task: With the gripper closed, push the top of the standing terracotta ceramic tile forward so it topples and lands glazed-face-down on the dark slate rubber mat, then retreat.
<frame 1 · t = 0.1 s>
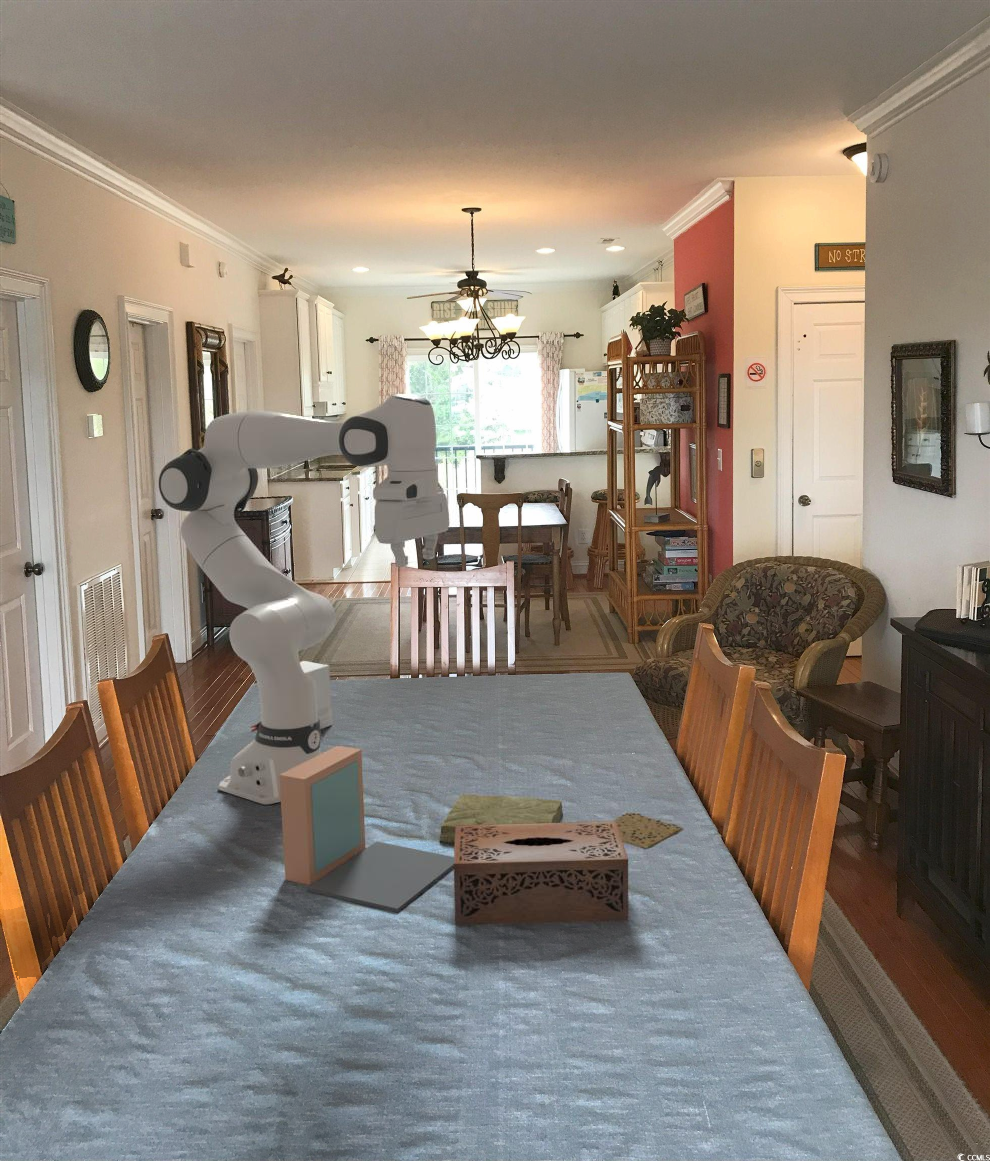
hand: (415, 562, 197), 48 cm above the table, fingers open, 8 cm apart
decorative tile: (501, 831, 198), on the table
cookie: (638, 833, 195), on the table
supplement box: (306, 728, 260), on the table
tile: (326, 863, 184), on the table
tissue box cover: (539, 903, 169), on the table
slate mat: (386, 876, 179), on the table
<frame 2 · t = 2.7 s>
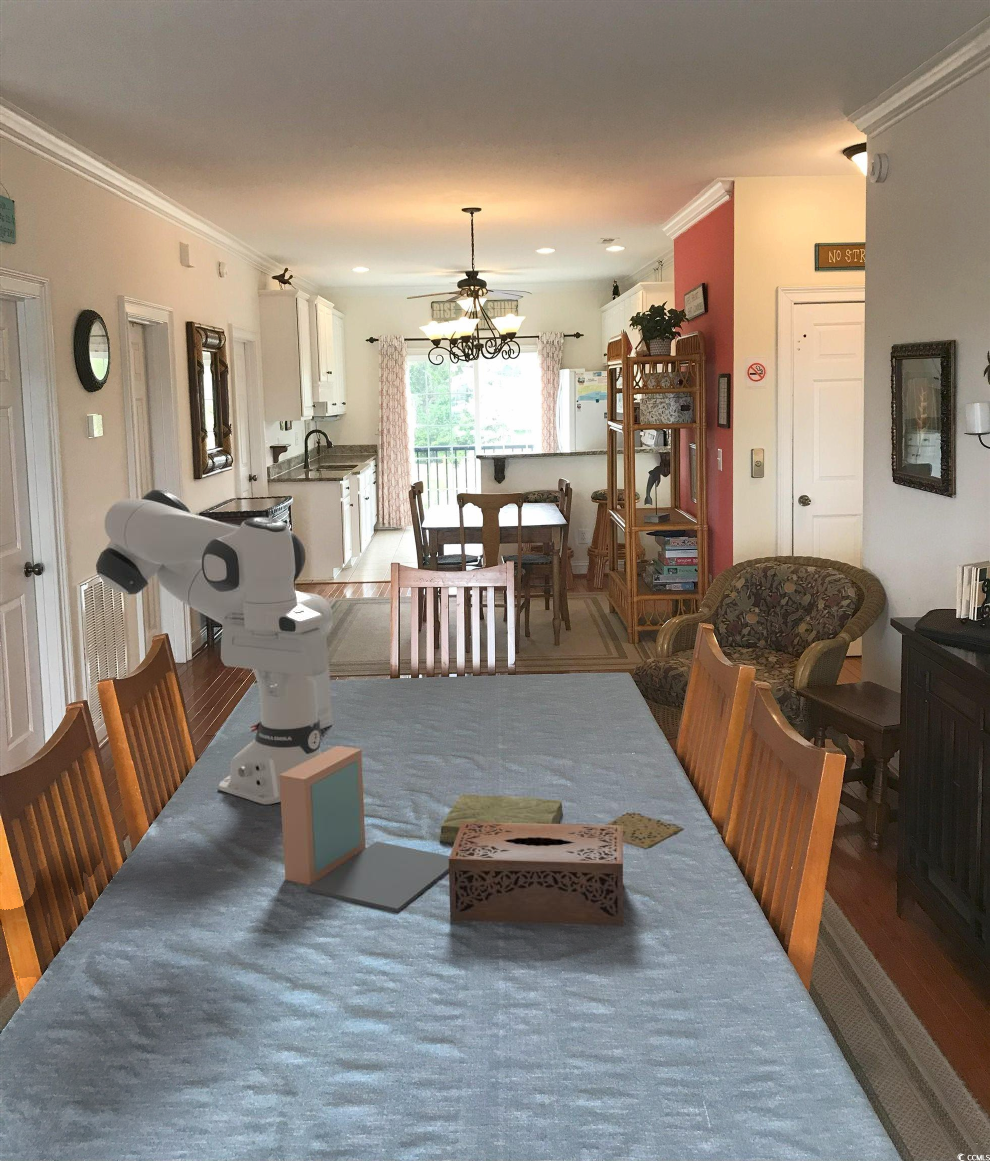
hand: (275, 696, 183), 28 cm above the table, fingers closed
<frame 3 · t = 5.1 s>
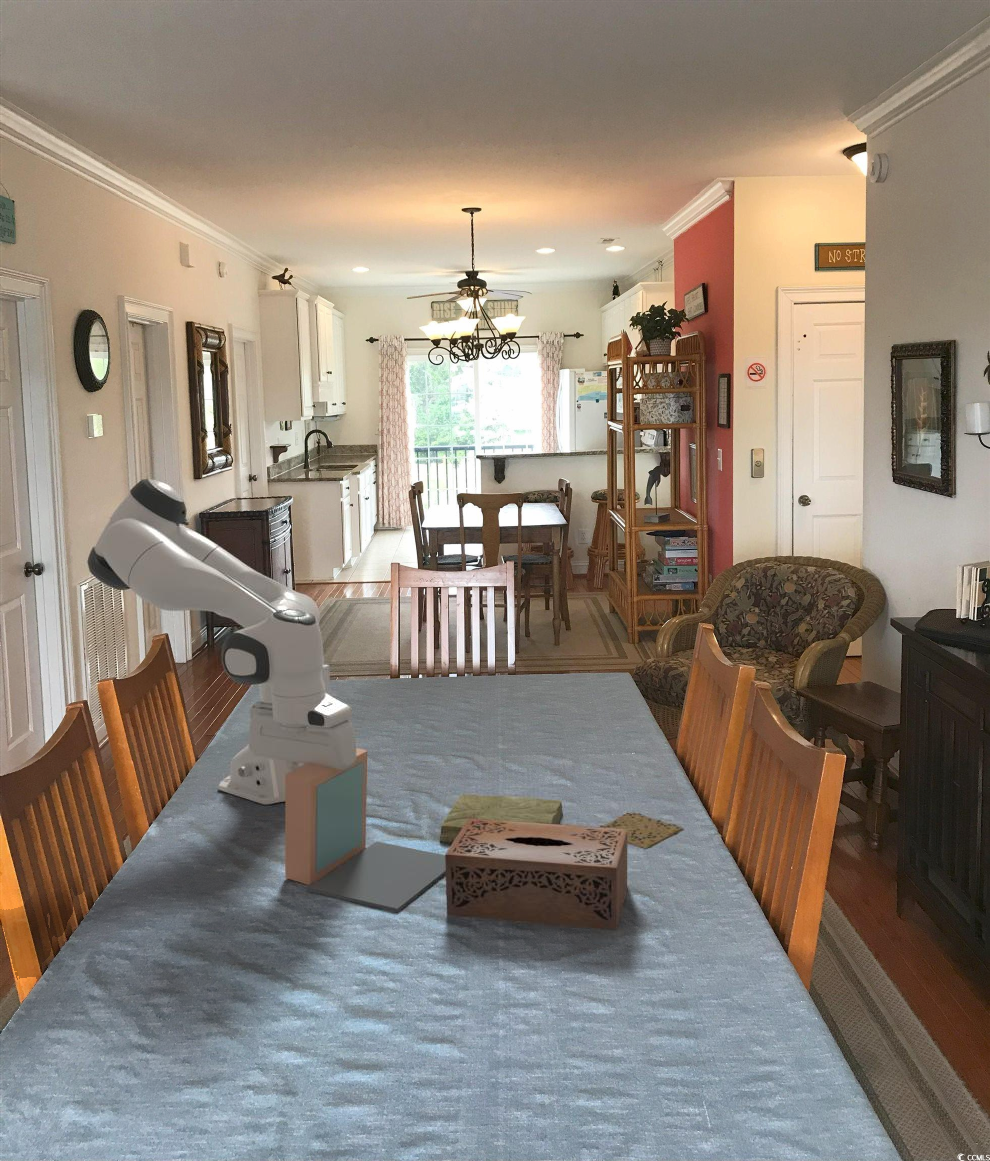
hand: (303, 786, 184), 13 cm above the table, fingers closed
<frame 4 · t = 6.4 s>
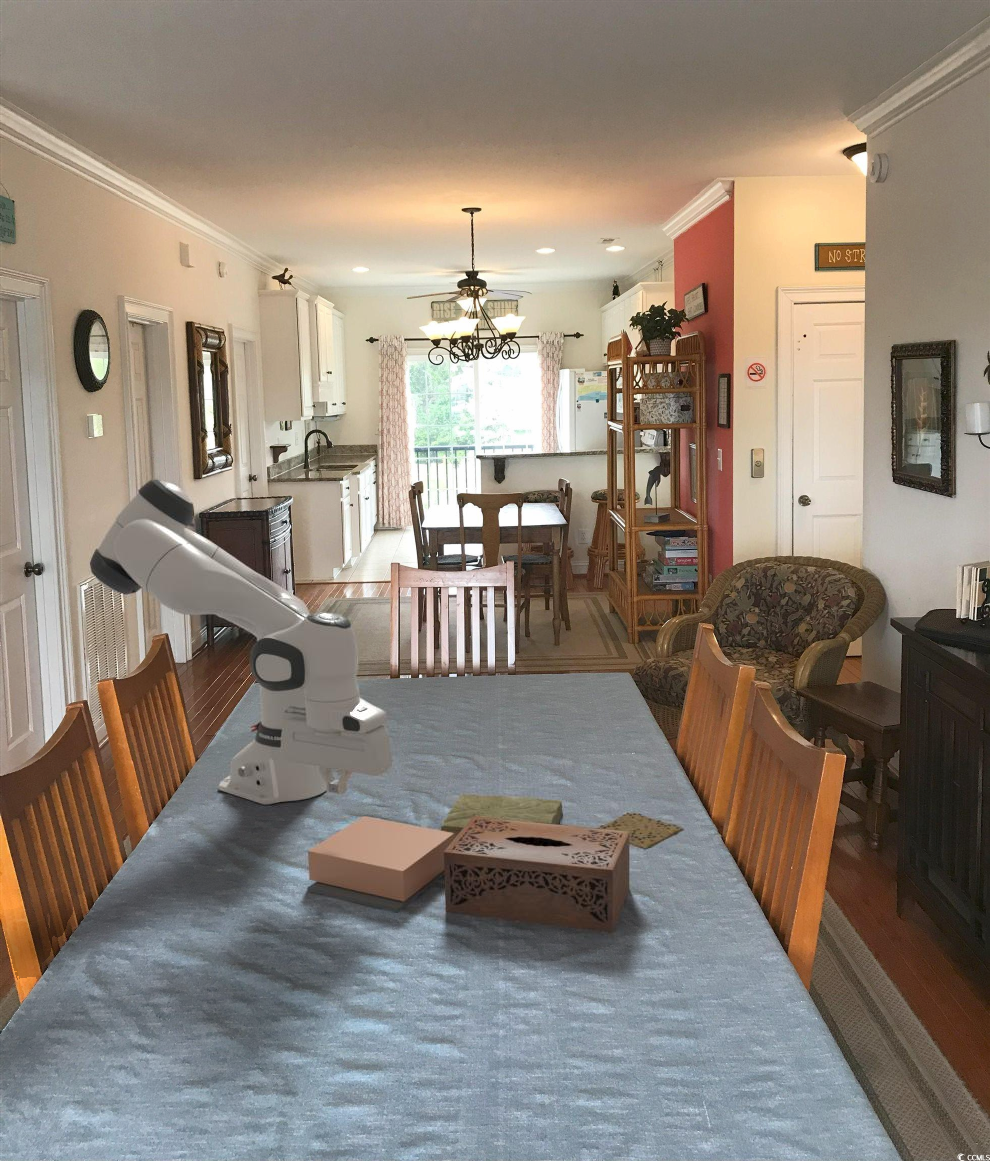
hand: (336, 792, 180), 13 cm above the table, fingers closed
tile: (337, 846, 182), point 3 cm above the table, tilted 90°, touching slate mat
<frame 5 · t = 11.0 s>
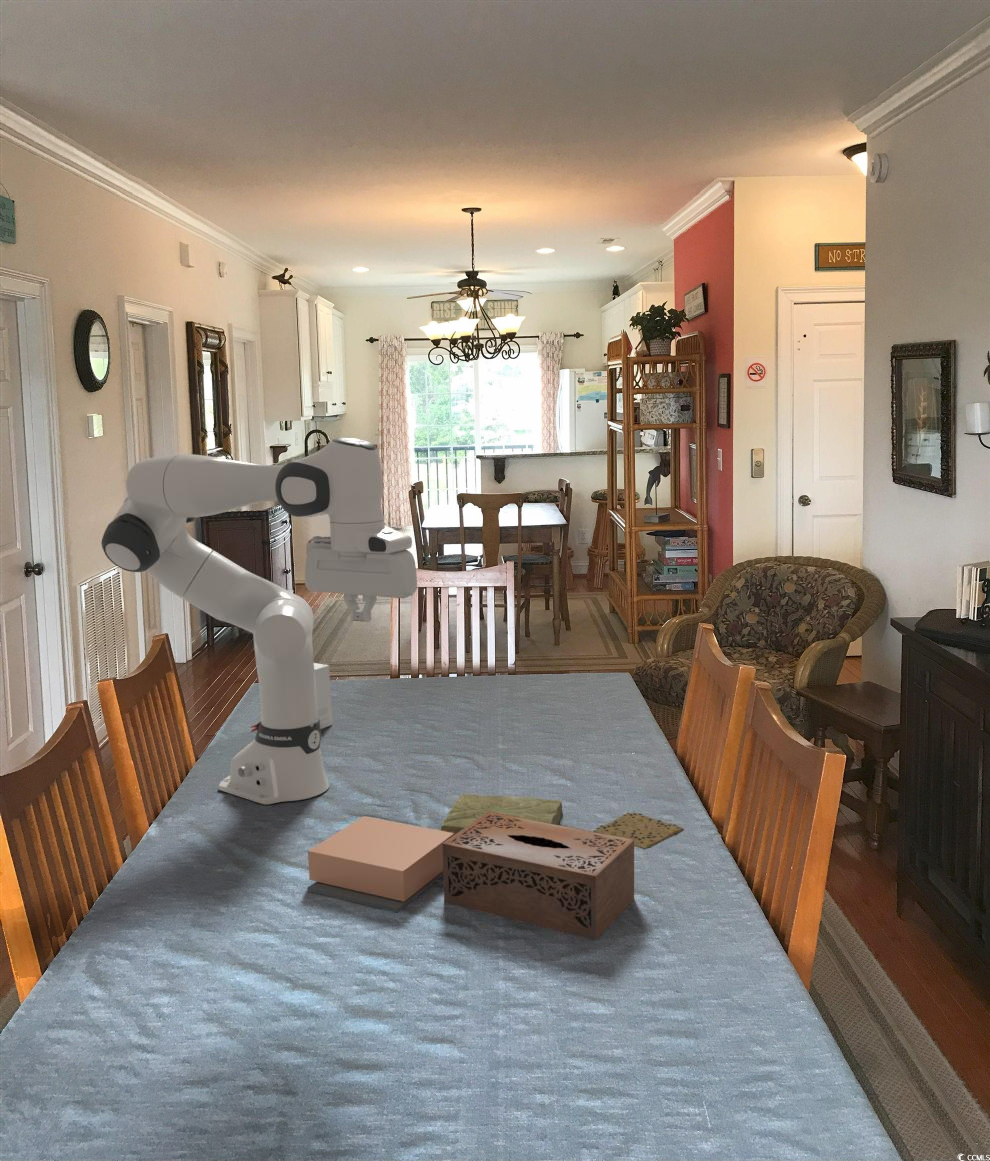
hand: (361, 621, 180), 41 cm above the table, fingers closed
at the end: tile tilted 90°; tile inside the target area (4.6 cm from its centre), point 3.3 cm above the table; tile touching slate mat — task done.
